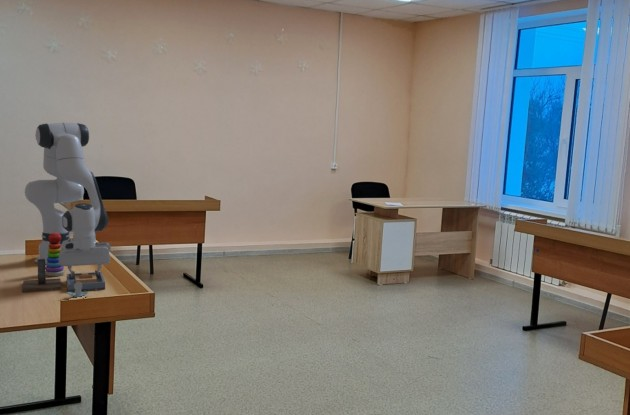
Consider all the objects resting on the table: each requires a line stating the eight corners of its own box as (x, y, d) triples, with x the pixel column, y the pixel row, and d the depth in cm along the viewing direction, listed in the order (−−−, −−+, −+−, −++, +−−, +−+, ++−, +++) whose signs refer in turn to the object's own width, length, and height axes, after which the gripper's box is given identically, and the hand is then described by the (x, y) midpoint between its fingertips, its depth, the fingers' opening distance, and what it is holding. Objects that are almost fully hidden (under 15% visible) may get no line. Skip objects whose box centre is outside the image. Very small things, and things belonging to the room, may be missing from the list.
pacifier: (88, 300, 237) (88, 295, 242) (88, 284, 236) (88, 280, 241) (67, 301, 234) (68, 296, 240) (67, 285, 233) (67, 281, 239)
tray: (66, 280, 262) (66, 273, 262) (101, 278, 268) (101, 271, 267) (67, 291, 246) (67, 284, 246) (105, 289, 251) (105, 282, 251)
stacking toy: (57, 277, 267) (56, 234, 264) (40, 276, 268) (39, 233, 266) (68, 273, 275) (67, 231, 272) (52, 272, 276) (51, 230, 274)
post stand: (23, 283, 256) (22, 256, 254) (60, 281, 261) (59, 255, 260) (22, 292, 243) (21, 264, 242) (60, 289, 249) (60, 262, 247)
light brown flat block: (74, 280, 261) (74, 273, 260) (94, 278, 264) (94, 271, 263) (75, 287, 250) (75, 280, 249) (96, 286, 253) (96, 278, 253)
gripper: (109, 240, 265) (110, 272, 267) (58, 242, 257) (58, 275, 259) (111, 243, 259) (111, 275, 261) (58, 245, 251) (58, 278, 253)
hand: (84, 275), depth 260 cm, fingers open, 8 cm apart
